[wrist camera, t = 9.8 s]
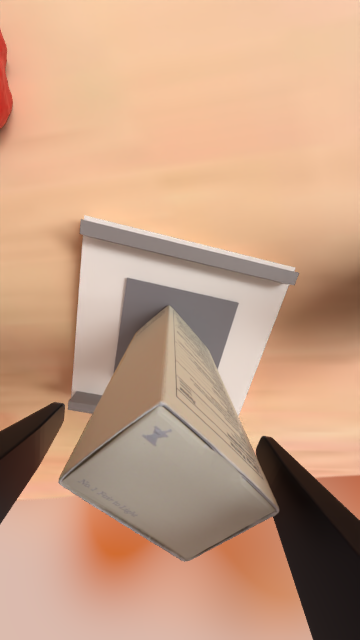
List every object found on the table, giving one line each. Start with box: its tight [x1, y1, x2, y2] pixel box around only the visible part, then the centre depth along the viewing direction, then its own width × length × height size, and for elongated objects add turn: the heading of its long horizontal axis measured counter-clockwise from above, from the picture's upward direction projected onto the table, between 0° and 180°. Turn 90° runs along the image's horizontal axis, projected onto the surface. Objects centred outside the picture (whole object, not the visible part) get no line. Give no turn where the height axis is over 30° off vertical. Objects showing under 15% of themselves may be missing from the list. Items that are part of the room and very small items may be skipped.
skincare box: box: [59, 305, 279, 561], centre depth 11 cm, size 6×4×12 cm
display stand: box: [68, 215, 299, 416], centre depth 18 cm, size 18×18×3 cm
